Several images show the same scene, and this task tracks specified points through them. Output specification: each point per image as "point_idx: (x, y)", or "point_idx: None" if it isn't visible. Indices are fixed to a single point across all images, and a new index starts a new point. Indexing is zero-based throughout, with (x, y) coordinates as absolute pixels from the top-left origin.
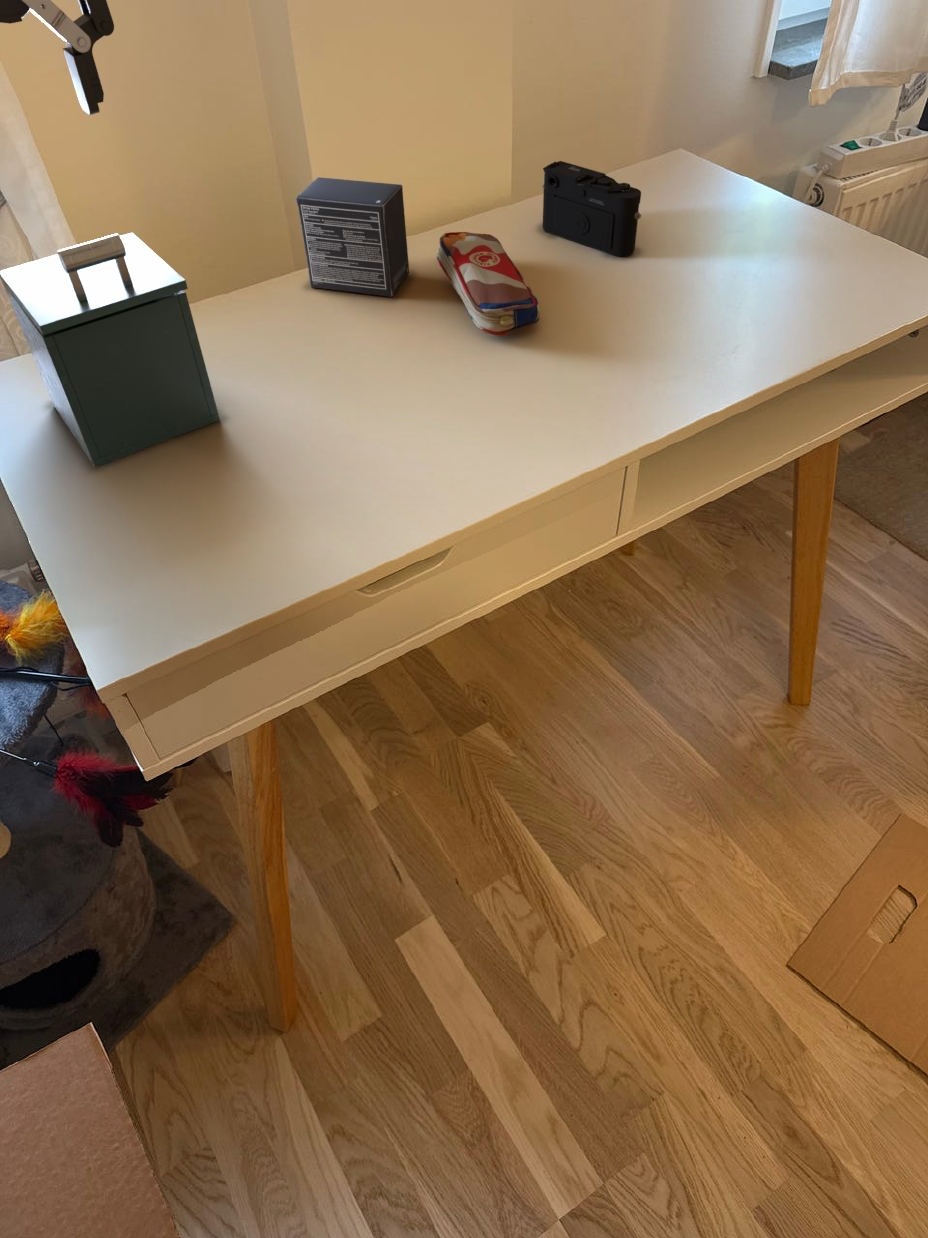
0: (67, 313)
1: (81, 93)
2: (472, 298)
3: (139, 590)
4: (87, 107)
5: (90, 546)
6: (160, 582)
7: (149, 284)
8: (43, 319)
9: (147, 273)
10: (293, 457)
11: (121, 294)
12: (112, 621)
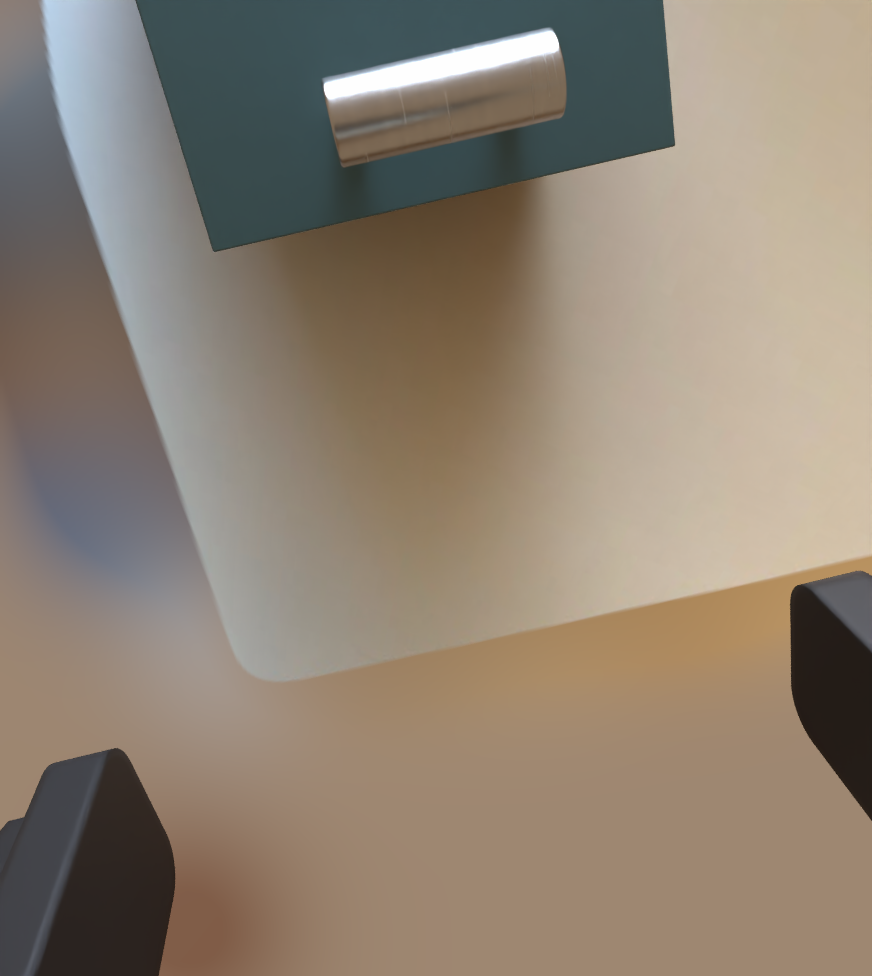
0: (298, 202)
1: (849, 733)
2: None
3: (307, 546)
4: (812, 726)
5: (233, 419)
6: (340, 541)
7: (567, 116)
8: (223, 207)
9: (580, 14)
10: (633, 310)
11: (473, 149)
12: (262, 593)
